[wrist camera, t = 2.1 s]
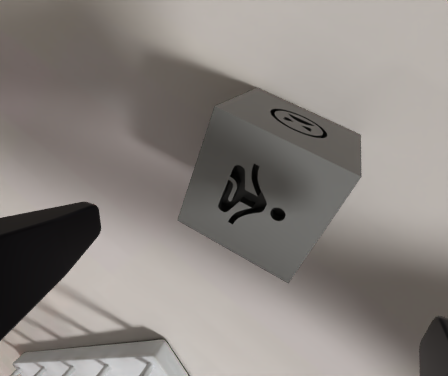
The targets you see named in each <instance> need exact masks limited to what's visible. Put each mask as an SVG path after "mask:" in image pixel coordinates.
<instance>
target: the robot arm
mask: <svg viewBox="0 0 448 376" xmlns="http://www.w3.org/2000/svg"><path fill="white" fill-rule="evenodd" d="M100 231H101V223H100V215H99V209H98V207H97V206H96V205H94V204H91V203H88V202H79V203H74V204H69V205H64V206H59V207H54V208H49V209H44V210H39V211H33V212H28V213H23V214H18V215H13V216H8V217H3V218H0V341H1V340H2V339H3V338H4V337H5V336H6V335H7V334H8V333H9V332H10V331H11V330H12V329H13V328H14V327H15V326H16V325H17V324H18V323H19V322H20V321H21V320H22V319H23V318H24V317H25V316H26V315H27V314H28V313H29V312H30V311H31V310H32V309H33V308H34V307H35V306H36V305H37V304H38V303H39V302H40V301H41V300H42V299H43V297H44V296H45V295H46V294H47V293H48V292H49V291H50V290H51V289H52V288H53V287H54V286H55V285H56V284H57V283H58V282H59V281H60V280H61V279H62V278H63V277H64V276H65V275H66V274H67V273H68V272H69V271H70V269H71V268H72V267H73V266H74V265H75V263H76V262H77V261H78V260H79V259H80V257H81V256H82V255H83V254H84V253H85V251H86V250H87V249H88V248H89V247H90V245H91V244H92V243H93V242H94V240H95V239H96V238H97V237H98V235H99V234H100ZM419 359H420V376H448V318H445V317H442V316H437V317H435V318H434V319H433V321H432V323H431V324H430V326H429V328H428V330H427V331H426V333H425V335H424V337H423V338H422V340H421V343H420V349H419Z"/></svg>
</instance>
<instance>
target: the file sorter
mask: <svg viewBox="0 0 448 376" xmlns="http://www.w3.org/2000/svg"><path fill="white" fill-rule="evenodd" d="M13 366H14V367H15V368H16V370H15V371H14V372H13V373H12V374H11V375H10V376H17V375H18V374H19V373H20V374H21V376H188V374H187V372H186V371H185V369H184V368H183V366H182V365H181V363H180V362H179V360H178V359H177V357H176V356H175V354H174V353H173V351H172V350H171V348H170V346H169V345H168V344H167V342H166V341H165V340H152V341H142V342H132V343H121V344H110V345H99V346H88V347H77V348H66V349H56V350H45V351H35V352H24V353H23V354H22V355H21V356H20V357H19V358H18V359H17V360H16V361H15V362H14V363H13Z"/></svg>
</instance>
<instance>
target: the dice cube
mask: <svg viewBox="0 0 448 376" xmlns="http://www.w3.org/2000/svg"><path fill="white" fill-rule="evenodd" d="M360 178H361V135H360V134H358V133H356V132H354V131H351V130H349V129H347V128H345V127H343V126H341V125H338V124H336V123H334V122H332V121H330V120H327V119H325V118H323V117H321V116H319V115H317V114H314V113H312V112H310V111H308V110H306V109H303V108H301V107H299V106H297V105H295V104H293V103H290V102H288V101H286V100H284V99H282V98H279V97H277V96H275V95H273V94H271V93H269V92H266V91H264V90H262V89H260V88H255V89H253V90H251V91H248V92H246V93H244V94H241V95H239V96H237V97H235V98H232V99H230V100H228V101H225V102H223V103H221V104H218V105H216V106H215V107H214V110H213V113H212V116H211V119H210V122H209V125H208V128H207V131H206V134H205V138H204V141H203V144H202V147H201V150H200V153H199V156H198V159H197V162H196V165H195V168H194V171H193V174H192V177H191V180H190V183H189V186H188V189H187V192H186V195H185V198H184V201H183V205H182V208H181V211H180V214H179V217H178V221H179V222H181V223H183V224H185V225H186V226H188V227H190V228H192V229H194V230H195V231H197V232H199V233H201V234H202V235H204V236H206V237H208V238H209V239H211V240H213V241H215V242H216V243H218V244H220V245H222V246H223V247H225V248H227V249H229V250H230V251H232V252H234V253H236V254H238V255H239V256H241V257H243V258H245V259H246V260H248V261H250V262H252V263H253V264H255V265H257V266H259V267H260V268H262V269H264V270H266V271H267V272H269V273H271V274H273V275H274V276H276V277H278V278H280V279H281V280H283V281H285V282H287V283H289V282H290V280H291V279H292V277H293V276H294V275H295V273H296V272H297V270H298V269H299V267H300V266H301V264H302V263H303V261H304V260H305V258H306V257H307V256H308V254H309V253H310V251H311V250H312V248H313V247H314V245H315V244H316V242H317V241H318V239H319V238H320V236H321V235H322V234H323V232H324V231H325V229H326V228H327V226H328V225H329V223H330V222H331V220H332V219H333V217H334V216H335V215H336V213H337V212H338V210H339V209H340V207H341V206H342V204H343V203H344V201H345V200H346V198H347V197H348V196H349V194H350V193H351V191H352V190H353V188H354V187H355V185H356V184H357V182H358V181H359V179H360Z"/></svg>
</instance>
